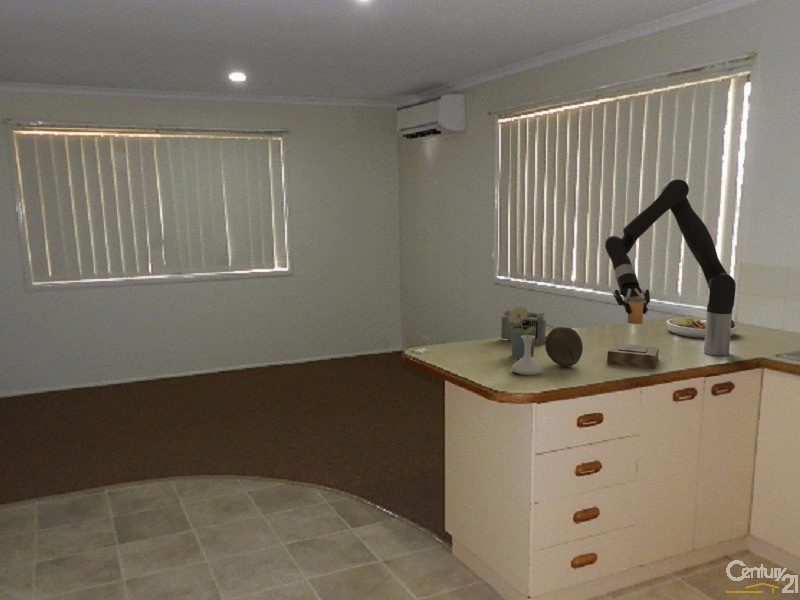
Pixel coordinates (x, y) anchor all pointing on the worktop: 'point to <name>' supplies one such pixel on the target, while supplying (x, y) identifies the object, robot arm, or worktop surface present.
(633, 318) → the amber jar
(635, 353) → the stand
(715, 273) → the robot arm
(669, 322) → the bowl
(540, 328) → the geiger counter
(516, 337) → the drinking glass
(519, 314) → the flower in vase
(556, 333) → the coconut
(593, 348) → the worktop surface
